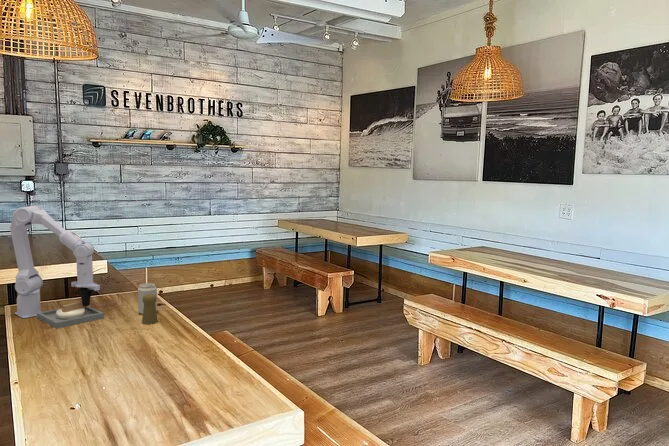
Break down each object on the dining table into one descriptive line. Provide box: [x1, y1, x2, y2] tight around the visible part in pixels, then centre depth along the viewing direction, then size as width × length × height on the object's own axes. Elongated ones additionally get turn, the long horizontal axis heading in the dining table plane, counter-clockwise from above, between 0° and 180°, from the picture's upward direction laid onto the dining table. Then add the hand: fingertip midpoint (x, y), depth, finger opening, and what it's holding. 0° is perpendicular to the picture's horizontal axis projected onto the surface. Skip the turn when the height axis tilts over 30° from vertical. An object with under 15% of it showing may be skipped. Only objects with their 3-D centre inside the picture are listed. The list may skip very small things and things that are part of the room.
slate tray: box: [36, 306, 105, 329], centre depth 199 cm, size 18×18×2 cm
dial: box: [56, 300, 91, 319], centre depth 200 cm, size 10×13×4 cm
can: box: [137, 282, 158, 315], centre depth 209 cm, size 8×8×12 cm
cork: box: [141, 294, 159, 325], centre depth 197 cm, size 6×6×11 cm
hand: (86, 305), depth 203 cm, fingers closed, pressing on dial
